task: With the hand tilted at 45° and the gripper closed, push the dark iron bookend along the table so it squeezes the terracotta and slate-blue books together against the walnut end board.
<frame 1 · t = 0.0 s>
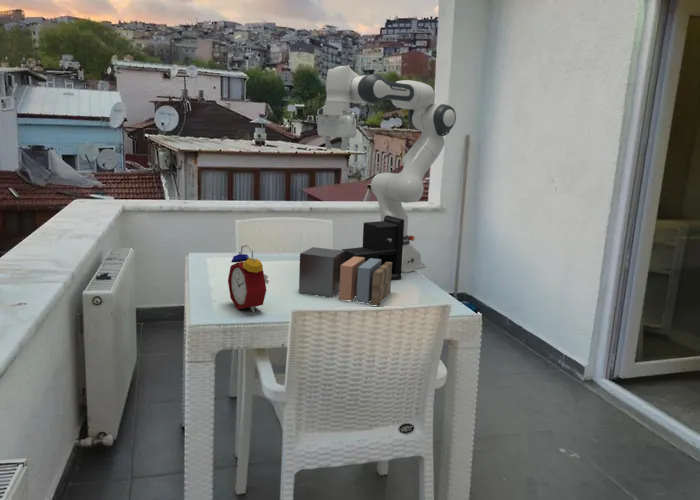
hand: (335, 149, 207), 48 cm above the table, tool pointing down, fingers open, 8 cm apart
terracotta book: (351, 295, 194), on the table
slate-blue book: (368, 297, 192), on the table
bookend: (368, 280, 216), on the table
alarm clock: (249, 308, 176), on the table
iron bookend: (321, 291, 197), on the table
walnut end board: (381, 299, 191), on the table
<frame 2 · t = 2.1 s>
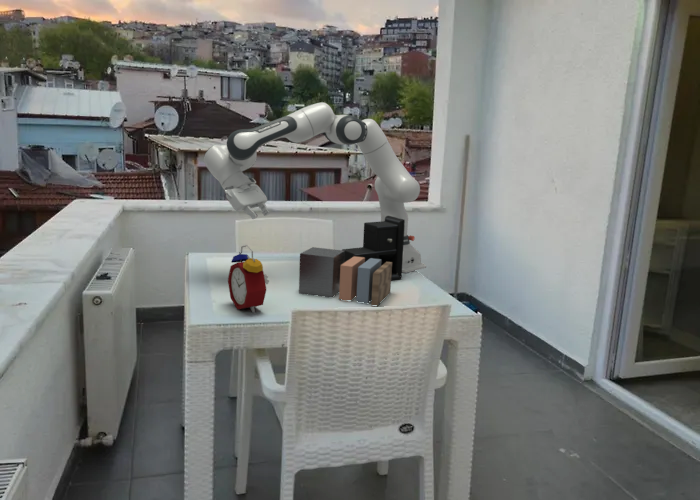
hand: (261, 216, 199), 24 cm above the table, tool tilted 45°, fingers open, 8 cm apart
nothing on the table moved.
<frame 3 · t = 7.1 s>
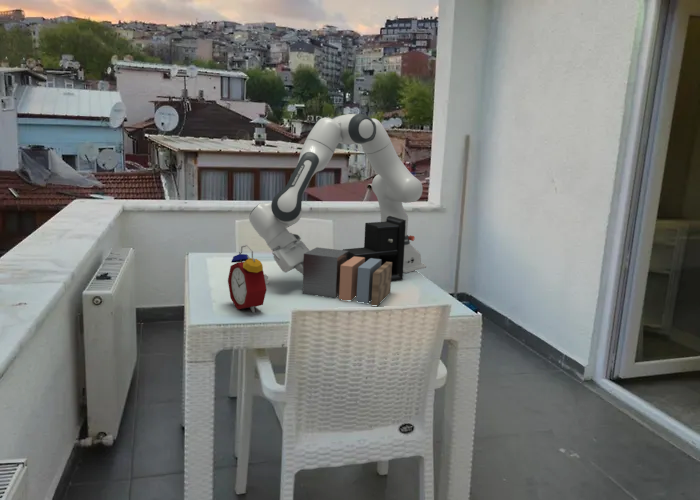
hand: (308, 274, 198), 5 cm above the table, tool tilted 45°, fingers closed, pressing on iron bookend
iron bookend: (325, 291, 197), on the table, touching gripper
everything else where it was.
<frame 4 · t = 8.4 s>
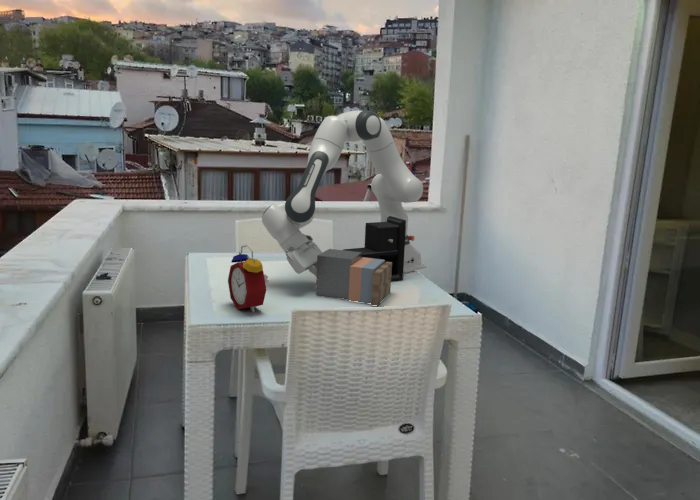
hand: (320, 276, 196), 5 cm above the table, tool tilted 45°, fingers closed, pressing on iron bookend
terracotta book: (360, 296, 193), on the table, touching iron bookend, slate-blue book
slate-blue book: (371, 298, 192), on the table, touching terracotta book
iron bookend: (338, 293, 195), on the table, touching gripper, terracotta book
everything else where it was.
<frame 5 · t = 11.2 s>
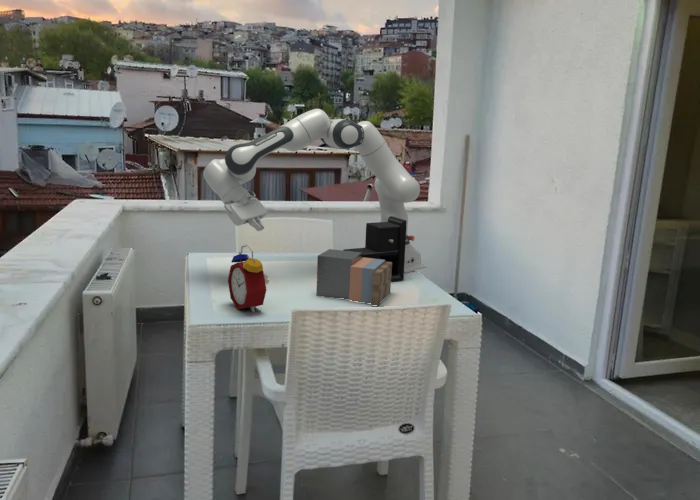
hand: (261, 229, 200), 19 cm above the table, tool tilted 45°, fingers closed
terracotta book: (361, 296, 193), on the table
slate-blue book: (372, 298, 192), on the table
iron bookend: (338, 293, 195), on the table
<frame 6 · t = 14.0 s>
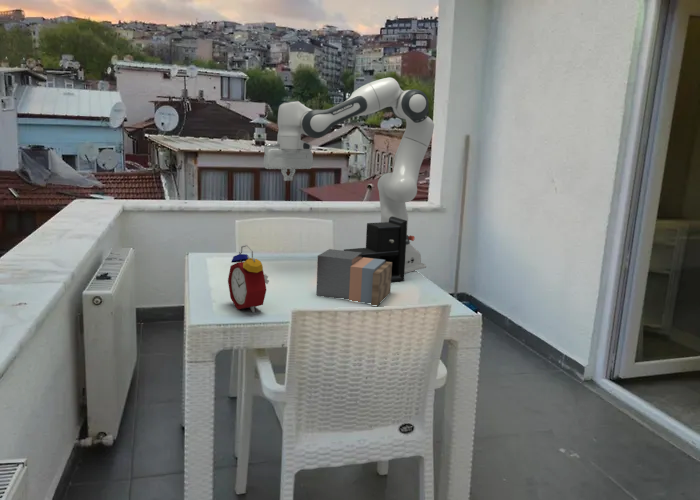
hand: (288, 180, 219), 35 cm above the table, tool pointing down, fingers closed
terracotta book: (360, 296, 193), on the table, touching slate-blue book
slate-blue book: (372, 298, 192), on the table, touching terracotta book
at the end: iron bookend 15.1 cm from the walnut end board (horizontally); iron bookend tilted 0°; terracotta book 7.1 cm from the walnut end board (horizontally) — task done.
